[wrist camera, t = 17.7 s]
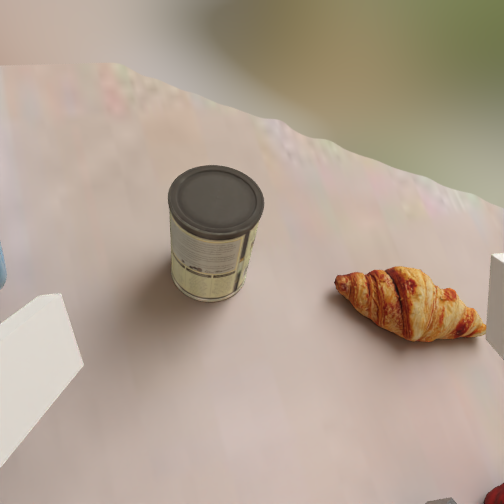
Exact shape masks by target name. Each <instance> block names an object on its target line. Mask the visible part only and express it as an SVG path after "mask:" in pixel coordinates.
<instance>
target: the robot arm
mask: <svg viewBox="0 0 504 504" xmlns="http://www.w3.org/2000/svg"><path fill="white" fill-rule="evenodd" d="M6 276H7V273H6V266H5V260H4V256H3V251H2V247H1V242H0V289H1V288H2V287H3V286H4V284H5V282H6ZM486 340H487V341H488V342H489V344H490V345H491V346H492V347H493V348H494V349H495V350H496V352H497V353H498V354H499V355H500V356H501V357H502V358H503V360H504V253H500V254H491V264H490V279H489V294H488V309H487V324H486ZM83 366H84V364H83V361H82V358H81V354H80V351H79V348H78V345H77V342H76V339H75V336H74V333H73V330H72V326H71V323H70V320H69V317H68V314H67V311H66V308H65V305H64V302H63V298H62V295H61V293H59V294H48V295H39V296H38V297H36V298H35V299H33V300H32V301H31V302H29V303H28V304H27V305H25V306H24V307H23V308H21V309H20V310H18V311H17V312H16V313H14V314H13V315H12V316H10V317H9V318H7V319H6V320H5V321H3V322H2V323H1V324H0V468H1V466H2V465H3V464H4V463H5V462H6V460H7V459H8V458H9V457H10V455H11V454H12V453H13V452H14V450H15V449H16V448H17V447H18V446H19V444H20V443H21V442H22V441H23V439H24V438H25V437H26V436H27V434H28V433H29V432H30V431H31V430H32V428H33V427H34V426H35V425H36V423H37V422H38V421H39V420H40V419H41V417H42V416H43V415H44V414H45V412H46V411H47V410H48V409H49V407H50V406H51V405H52V404H53V403H54V401H55V400H56V399H57V398H58V396H59V395H60V394H61V393H62V391H63V390H64V389H65V388H66V387H67V385H68V384H69V383H70V382H71V380H72V379H73V378H74V377H75V375H76V374H77V373H78V372H79V371H80V369H81V368H82V367H83Z"/></svg>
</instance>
